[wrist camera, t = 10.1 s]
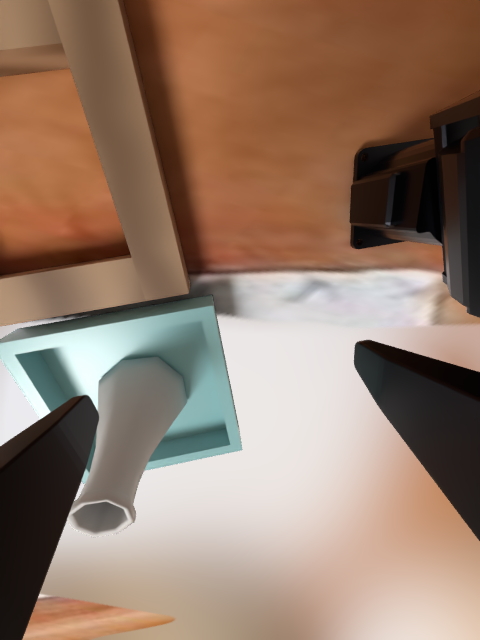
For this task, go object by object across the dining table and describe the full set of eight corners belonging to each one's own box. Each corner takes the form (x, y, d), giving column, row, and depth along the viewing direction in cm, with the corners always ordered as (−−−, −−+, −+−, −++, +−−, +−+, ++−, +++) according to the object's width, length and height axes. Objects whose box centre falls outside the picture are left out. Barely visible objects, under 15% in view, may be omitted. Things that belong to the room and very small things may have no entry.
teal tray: (212, 294, 19) (212, 305, 17) (239, 428, 25) (242, 449, 23) (17, 328, 18) (-10, 344, 16) (94, 458, 25) (83, 483, 22)
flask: (162, 342, 20) (124, 451, 11) (200, 403, 23) (196, 528, 14) (83, 374, 20) (-20, 507, 11) (131, 430, 23) (81, 571, 14)
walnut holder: (118, -21, 12) (102, -63, 10) (190, 285, 19) (188, 293, 17) (-230, 15, 11) (-315, -24, 9) (-25, 322, 18) (-51, 335, 16)
